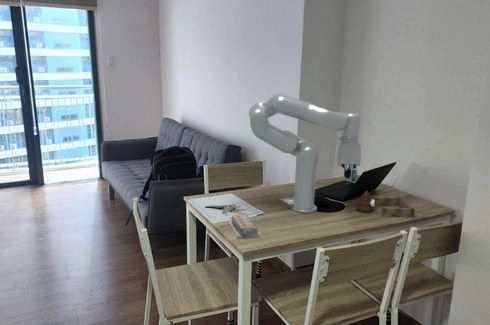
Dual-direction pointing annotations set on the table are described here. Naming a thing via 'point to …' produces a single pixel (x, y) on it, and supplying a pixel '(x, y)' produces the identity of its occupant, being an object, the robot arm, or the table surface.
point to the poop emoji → (365, 203)
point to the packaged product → (243, 226)
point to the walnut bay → (403, 211)
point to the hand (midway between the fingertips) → (347, 177)
